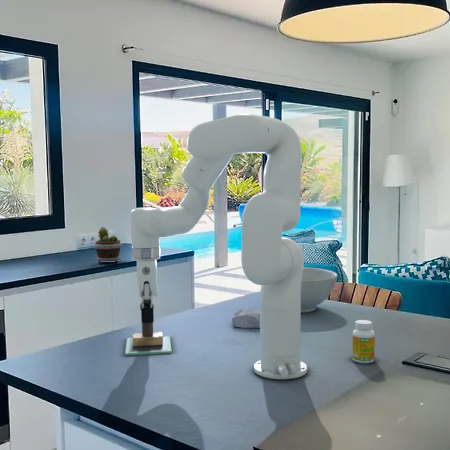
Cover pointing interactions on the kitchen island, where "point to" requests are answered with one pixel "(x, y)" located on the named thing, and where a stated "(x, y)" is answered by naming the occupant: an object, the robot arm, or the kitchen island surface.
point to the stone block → (247, 318)
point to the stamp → (147, 335)
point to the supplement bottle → (363, 342)
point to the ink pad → (148, 348)
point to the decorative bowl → (316, 287)
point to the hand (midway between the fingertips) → (147, 319)
